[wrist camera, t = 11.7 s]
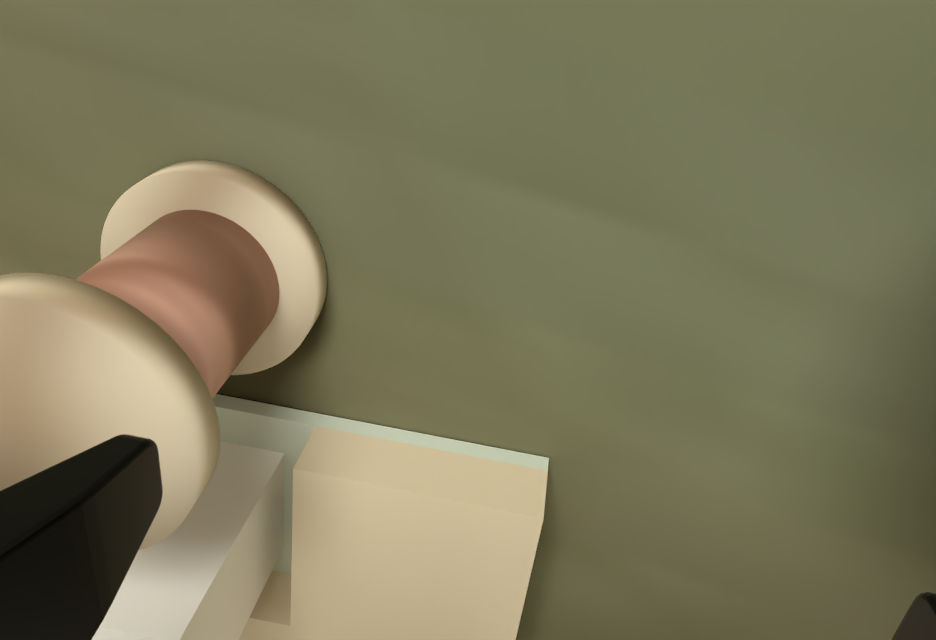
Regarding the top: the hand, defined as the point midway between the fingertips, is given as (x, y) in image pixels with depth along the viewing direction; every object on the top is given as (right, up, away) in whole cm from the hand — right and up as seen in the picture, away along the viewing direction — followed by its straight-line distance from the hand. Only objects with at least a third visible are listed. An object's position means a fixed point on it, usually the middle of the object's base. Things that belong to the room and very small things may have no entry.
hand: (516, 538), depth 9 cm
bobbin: (-7, +4, +13) cm, 15 cm away
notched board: (-9, -4, +17) cm, 19 cm away
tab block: (-8, -3, +16) cm, 18 cm away
